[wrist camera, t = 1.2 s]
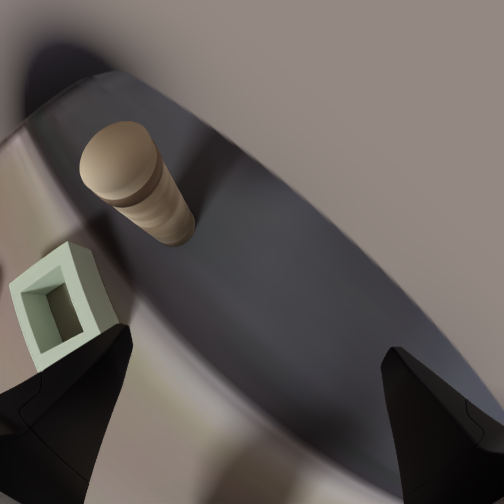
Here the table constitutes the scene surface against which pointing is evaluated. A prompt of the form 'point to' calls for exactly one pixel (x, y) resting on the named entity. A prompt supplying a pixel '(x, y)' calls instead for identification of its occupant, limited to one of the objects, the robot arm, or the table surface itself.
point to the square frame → (82, 295)
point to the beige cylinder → (137, 182)
